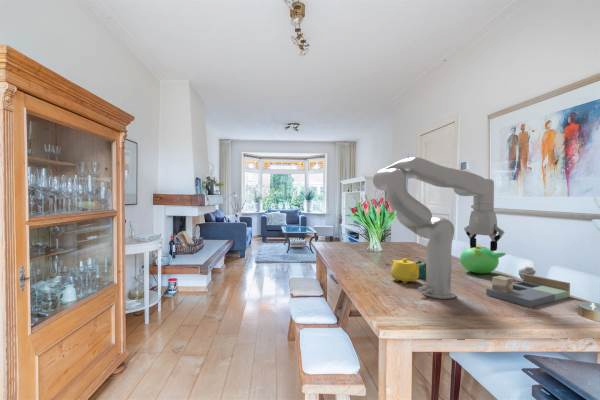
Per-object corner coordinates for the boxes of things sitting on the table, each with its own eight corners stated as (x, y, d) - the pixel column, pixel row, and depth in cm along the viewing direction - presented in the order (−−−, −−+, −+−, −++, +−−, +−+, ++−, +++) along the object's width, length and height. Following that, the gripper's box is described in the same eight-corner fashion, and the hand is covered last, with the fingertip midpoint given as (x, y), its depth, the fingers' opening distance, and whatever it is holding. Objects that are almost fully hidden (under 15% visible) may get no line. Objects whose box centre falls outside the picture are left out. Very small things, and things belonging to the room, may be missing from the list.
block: (505, 292, 120) (505, 279, 120) (492, 289, 125) (492, 277, 125) (512, 291, 122) (512, 278, 122) (499, 287, 127) (499, 275, 127)
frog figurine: (530, 283, 142) (530, 268, 142) (515, 279, 149) (515, 265, 149) (538, 282, 144) (538, 267, 144) (523, 278, 151) (523, 264, 151)
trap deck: (529, 307, 111) (529, 292, 111) (486, 294, 126) (486, 281, 125) (569, 296, 123) (569, 282, 123) (526, 286, 138) (526, 274, 138)
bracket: (421, 279, 151) (421, 263, 150) (411, 276, 157) (411, 260, 157) (448, 275, 158) (448, 260, 158) (437, 272, 164) (437, 258, 164)
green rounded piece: (485, 269, 171) (485, 242, 171) (507, 276, 155) (507, 247, 154) (454, 269, 170) (454, 243, 170) (473, 277, 153) (473, 248, 153)
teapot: (429, 284, 141) (429, 261, 141) (412, 287, 136) (412, 263, 136) (400, 275, 157) (400, 254, 157) (383, 278, 152) (383, 256, 152)
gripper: (459, 207, 137) (458, 246, 137) (498, 208, 121) (498, 252, 121) (470, 207, 140) (469, 245, 140) (510, 208, 125) (509, 251, 125)
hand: (483, 248), depth 131 cm, fingers open, 8 cm apart
